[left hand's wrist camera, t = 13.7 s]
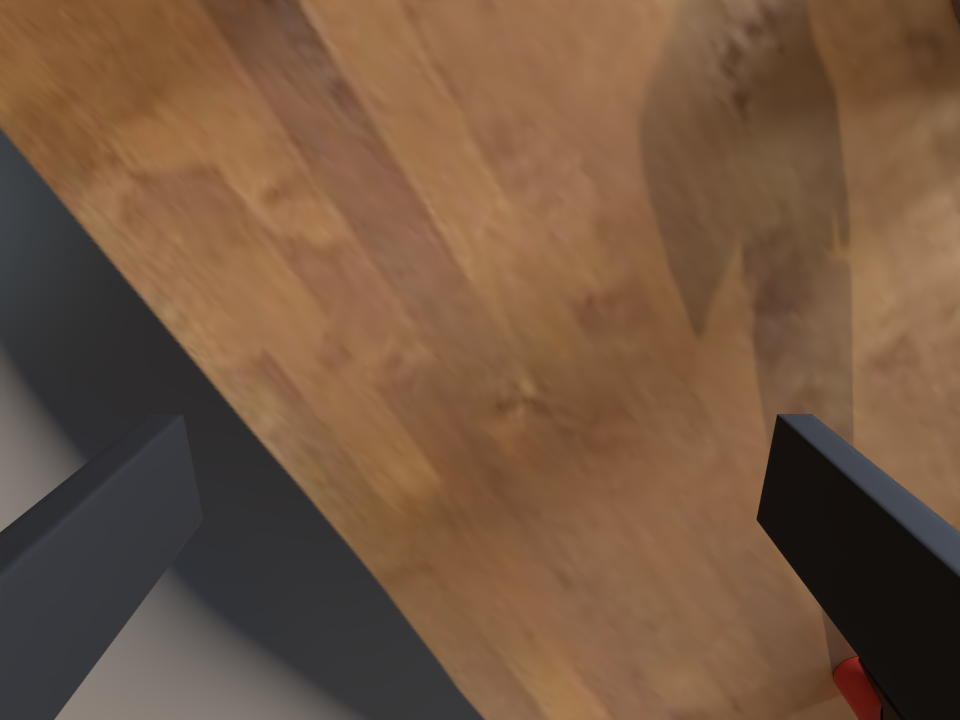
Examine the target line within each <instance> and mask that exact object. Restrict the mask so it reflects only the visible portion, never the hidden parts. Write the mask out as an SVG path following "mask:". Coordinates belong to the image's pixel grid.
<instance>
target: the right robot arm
mask: <svg viewBox="0 0 960 720" xmlns="http://www.w3.org/2000/svg"><path fill="white" fill-rule="evenodd" d="M858 662H859V664H860V666H861V668H862V670H863V672H864V674H865V676H866V678H867V679H868V681H869V683H870V685H871V687H872V688H873V690H874V692H875V694H876V696H877V697H878V699H879V701H880V703H881V708H880V720H906V719H905V718H904V717H903V715H902V714H901V712H900V711H899V710H898V708H897V707H896V706H895V704H894V703H893V702H892V700H891V699H890V698H889V696H888V695H887V694H886V692H885V691H884V690H883V688H882V687H881V686H880V684H879V683H878V682H877V680H876V679H875V678H874V676H873V675H872V674H871V672H870V671H869V670H868V668H867V667H866V666H865V664H864V663H863V662H862V660H861V659H860V658H859V657H858Z"/></svg>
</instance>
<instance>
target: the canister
mask: <svg viewBox="0 0 960 720" xmlns="http://www.w3.org/2000/svg"><path fill="white" fill-rule="evenodd" d="M833 679H834V683H835V684H836V686H837V687H838V689H839V690H840V692H841V693H842V695H843V696H844V698H845V699H846V701H847V702H848V704H849V705H850V707H851V708H852V710H853V711H854V713H855V714H856V716H857V717H858V719H859V720H880V708H881V703H880V701H879V699H878V697H877V696H876V694H875V692H874V690H873V688H872V687H871V685H870V683H869V681H868V679H867V678H866V676H865V674H864V672H863V670H862V668H861V666H860V664H859V662H858V657H853V658H850V659H848V660H846V661H844V662H842V663H841V664H840V665H839V666H838V667H837V668H836V670H835V672H834V675H833Z"/></svg>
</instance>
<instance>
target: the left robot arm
mask: <svg viewBox="0 0 960 720" xmlns="http://www.w3.org/2000/svg"><path fill="white" fill-rule="evenodd" d="M952 4H953V7H954V10H955V13H956V16H957V18H958V20H959V22H960V0H952ZM202 521H203V515H202V510H201V505H200V500H199V495H198V490H197V484H196V479H195V474H194V469H193V464H192V459H191V454H190V449H189V444H188V439H187V434H186V429H185V423H184V419H183V415H182V414H148V415H147V416H145V417H144V418H143V419H142V420H140V421H139V422H138V423H137V424H135V425H134V426H133V427H132V428H130V429H129V430H128V431H127V432H125V433H124V434H123V435H122V436H120V437H119V438H118V439H117V440H115V441H114V442H113V443H112V444H110V445H109V446H108V447H107V448H105V449H104V450H103V451H102V452H100V453H99V454H98V455H97V456H95V457H94V458H93V459H92V460H90V461H89V462H88V463H87V464H85V465H84V466H83V467H82V468H80V469H79V470H78V471H77V472H75V473H74V474H73V475H72V476H70V477H69V478H68V479H67V480H65V481H64V482H63V483H62V484H60V485H59V486H58V487H57V488H55V489H54V490H53V491H52V492H50V493H49V494H48V495H46V496H45V497H44V498H43V499H42V500H40V501H39V502H38V503H36V504H35V505H34V506H33V507H31V508H30V509H29V510H28V511H27V512H25V513H24V514H23V515H22V516H20V517H19V518H18V519H16V520H15V521H14V522H13V523H11V524H10V525H9V526H8V527H6V528H5V529H4V530H3V531H1V532H0V720H54V719H55V718H56V716H57V715H58V714H59V712H60V711H61V710H62V708H63V707H64V706H65V704H66V703H67V702H68V700H69V699H70V698H71V696H72V695H73V694H74V692H75V691H76V690H77V688H78V687H79V686H80V684H81V683H82V682H83V680H84V679H85V678H86V676H87V675H88V674H89V672H90V671H91V670H92V668H93V667H94V666H95V664H96V663H97V662H98V660H99V659H100V658H101V656H102V655H103V654H104V652H105V651H106V650H107V648H108V647H109V646H110V644H111V643H112V641H113V640H114V639H115V637H116V636H117V635H118V633H119V632H120V631H121V629H122V628H123V627H124V625H125V624H126V623H127V621H128V620H129V619H130V617H131V616H132V615H133V613H134V612H135V611H136V609H137V608H138V607H139V605H140V604H141V603H142V601H143V600H144V599H145V597H146V596H147V595H148V593H149V592H150V591H151V589H152V588H153V586H154V585H155V584H156V583H157V581H158V580H159V579H160V577H161V576H162V574H163V573H164V572H165V571H166V569H167V568H168V566H169V565H170V564H171V562H172V561H173V560H174V558H175V557H176V556H177V554H178V553H179V552H180V550H181V549H182V548H183V546H184V545H185V544H186V542H187V541H188V540H189V538H190V537H191V536H192V534H193V533H194V532H195V530H196V529H197V528H198V526H199V525H200V524H201V522H202ZM757 521H758V522H759V524H760V525H761V526H762V528H763V529H764V530H765V532H766V533H767V534H768V536H769V537H770V538H771V540H772V541H773V542H774V544H775V545H776V546H777V548H778V549H779V550H780V552H781V553H782V554H783V556H784V557H785V558H786V560H787V561H788V562H789V564H790V565H791V567H792V568H793V569H794V571H795V572H796V573H797V575H798V576H799V577H800V579H801V580H802V581H803V583H804V584H805V585H806V587H807V588H808V589H809V591H810V592H811V593H812V595H813V596H814V597H815V599H816V600H817V601H818V603H819V604H820V605H821V607H822V608H823V609H824V611H825V612H826V613H827V615H828V616H829V617H830V619H831V620H832V621H833V623H834V624H835V625H836V627H837V628H838V629H839V631H840V632H841V633H842V635H843V636H844V637H845V639H846V640H847V642H848V643H849V644H850V646H851V647H852V648H853V650H854V651H855V652H856V654H857V655H858V656H859V658H860V659H861V660H862V662H863V663H864V664H865V666H866V667H867V668H868V670H869V671H870V672H871V674H872V675H873V676H874V678H875V679H876V680H877V682H878V683H879V684H880V686H881V687H882V688H883V690H884V691H885V692H886V694H887V695H888V696H889V698H890V699H891V700H892V702H893V703H894V704H895V706H896V707H897V708H898V710H899V711H900V712H901V714H902V715H903V717H904V718H905V719H906V720H960V532H959V531H957V530H956V529H955V528H954V527H952V526H951V525H950V524H949V523H947V522H946V521H945V520H944V519H942V518H941V517H940V516H939V515H937V514H936V513H935V512H934V511H932V510H931V509H930V508H929V507H927V506H926V505H925V504H924V503H922V502H921V501H920V500H919V499H917V498H916V497H915V496H913V495H912V494H911V493H910V492H908V491H907V490H906V489H905V488H903V487H902V486H901V485H900V484H898V483H897V482H896V481H895V480H893V479H892V478H891V477H890V476H888V475H887V474H886V473H885V472H883V471H882V470H881V469H880V468H878V467H877V466H876V465H875V464H873V463H872V462H871V461H870V460H868V459H867V458H866V457H865V456H863V455H862V454H861V453H860V452H858V451H857V450H856V449H855V448H853V447H852V446H851V445H850V444H848V443H847V442H846V441H845V440H843V439H842V438H841V437H840V436H838V435H837V434H836V433H835V432H833V431H832V430H831V429H830V428H828V427H827V426H826V425H825V424H823V423H822V422H821V421H820V420H818V419H817V418H816V417H815V416H813V415H812V414H777V418H776V423H775V428H774V434H773V439H772V444H771V449H770V454H769V459H768V464H767V469H766V474H765V479H764V484H763V489H762V494H761V500H760V505H759V510H758V515H757Z"/></svg>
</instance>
